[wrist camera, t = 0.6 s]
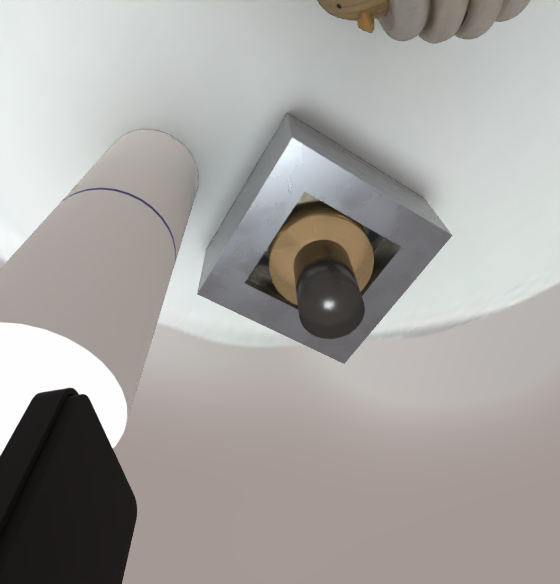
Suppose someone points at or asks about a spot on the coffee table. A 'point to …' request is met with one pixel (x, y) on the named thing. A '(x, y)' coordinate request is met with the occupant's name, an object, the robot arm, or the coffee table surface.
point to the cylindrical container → (95, 282)
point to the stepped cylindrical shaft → (322, 267)
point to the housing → (338, 194)
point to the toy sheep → (426, 16)
